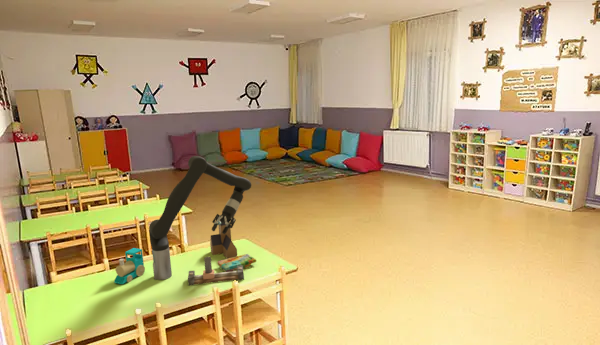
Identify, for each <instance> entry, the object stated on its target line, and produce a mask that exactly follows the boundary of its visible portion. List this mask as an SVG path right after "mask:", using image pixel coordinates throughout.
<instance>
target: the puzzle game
mask: <svg viewBox="0 0 600 345" xmlns="http://www.w3.org/2000/svg"><path fill="white" fill-rule="evenodd" d="M216 263H217V265H218V266H219V268H220V269H221V270H222V271H224V272H231V271H238V269H237V266H240V265H243V269H244V268H248V267H250V266H252V264H254V263H257V259H256V258H254V257H253V256H252V255H250V254H249V253H244V254H242V255H237V257H233V258H229V259H226V258H225V259H222V260H218V261H217V262H216Z"/></svg>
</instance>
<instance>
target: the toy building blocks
mask: <svg viewBox="0 0 600 345" xmlns="http://www.w3.org/2000/svg"><path fill="white" fill-rule="evenodd" d="M225 227H226V224H224V223H221V224H219V225H218V234H217V233H216V234H211V235H210V240H209V242H210V243H209V244H210V253H211V254H212V256H216V255H223V256H224V257H225V259H229V258H233V257H237V256H238V249H237V247H236V245H235V244H234V242H233V241H232V232H231V231H232V230H231V229H232V228H229V229H228V230H227V232H226V233H225V234H223V233H222V231H223V230H224V228H225Z"/></svg>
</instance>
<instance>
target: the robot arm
mask: <svg viewBox="0 0 600 345" xmlns="http://www.w3.org/2000/svg"><path fill="white" fill-rule="evenodd" d="M187 165H188V167H189V168H188V170H187V172H186V174H185V175H184V177H183V178H182V179H181V180H180V181H179V182H178V183H177V184H176V185H175V187H174V188H173V189H172V190H171V193H170V194H169V196H168V198H167V200H166V203H165V207H164V209H163V212H162V214H161V216H160V217H159V219H155V220H152V221H151V222H150V224H149V226H148V227H149V228H148V231H149V241H150V245H151V246H150V247H151V251H152V252H151V254H152V261H153V262H152V270H153V279H154V280H167V279H170V278H171V277H172V274H173V272H172V263H171V255H170V254H171V253H170V252H171V251H170V243H169V239H168V233H169V232H170V230H171V227H172V224H173V223H174V220H175V219H176V218H177V216H178V214H179V213H180V211H181V210H182V208H183V207H184V205H185V203H186V201H187V200H188V198H189V196H190V194H191V193H192V191H193V190H194V188H195V185H196V184H197V182H198V181H199V179H201V176H202V175H203V174H205V175H207V176H210V177H212V178H214V179H216V180H218V181H219V182H222V183H223V184H225V185H228V186H232V187H234V188H233V191H232V194H231V195H230V197H229V199H228V200H227V202H226V204H225V205H224V207H223V209H222V211H221V214H219V213H217V214H216V215H215V216H214V218H213V219H212V221H211V222H212V223H213V226H212V227H211V231H212V232H215V231H216V229H217V228H218V227H219V224H221V223H224V224H226V227H225V228H224V230H223V231H222V233H223V234H225V233H226V232H227V230H228V229H229V228H231V229H232V228H234V225H235V223H236V220H237V219H236V218H235V216H236V213H237V212H238V209H239V208H240V205H241V204H242V201H243V200H244V195H243V194H244V192H246V191H249V190H250V189H251V188H252V182H251V181H250V180H249V179H248V178H245V177H242V176H239V175H235V174H233V173H232V172H229V171H227V170H225V169H222V168H220V167H218V166H215V165H213V164H211V163H210V162H207V160H206V159H205V158H204V157H202V156H199V155H193V156H191V157H190V158H189V159H188V161H187Z"/></svg>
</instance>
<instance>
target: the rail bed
mask: <svg viewBox="0 0 600 345" xmlns="http://www.w3.org/2000/svg"><path fill="white" fill-rule="evenodd" d="M237 269H238V270H235V271H231V272H225V271H224V272H214V278H213V279H204V280H203V274H196V273H195V270H189V271H188V275H187V282H188V283H187V284H188V286H195V285H203V283H204V284H211V282H213V283H219V282H218V281H222V282H230V281H237V280H236V279H239V280H238V281H241V280H242V279H243V280H245V276H244V275H245V274H244V273H245V272H244V268H243V265H240V266H237ZM243 280H242V281H243Z"/></svg>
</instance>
